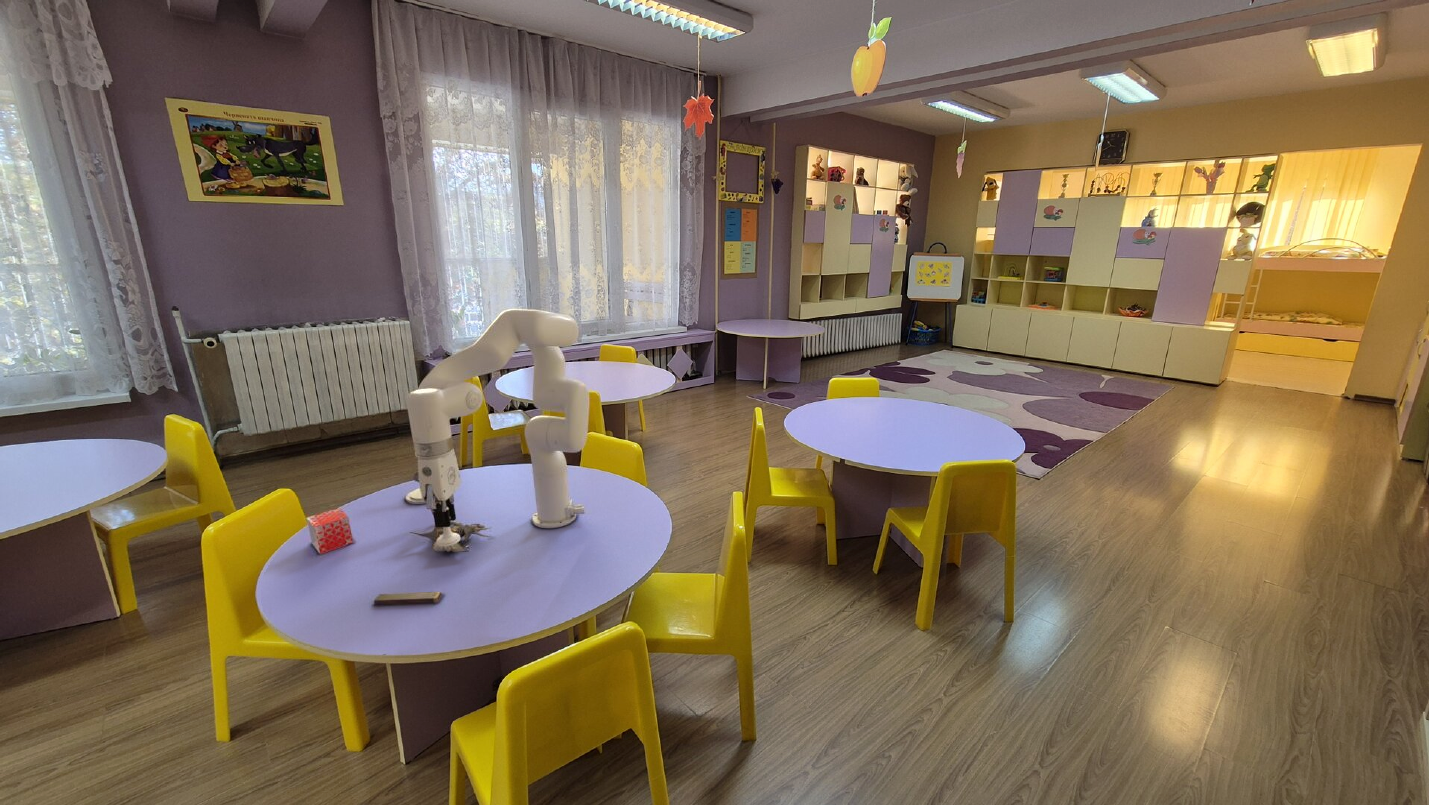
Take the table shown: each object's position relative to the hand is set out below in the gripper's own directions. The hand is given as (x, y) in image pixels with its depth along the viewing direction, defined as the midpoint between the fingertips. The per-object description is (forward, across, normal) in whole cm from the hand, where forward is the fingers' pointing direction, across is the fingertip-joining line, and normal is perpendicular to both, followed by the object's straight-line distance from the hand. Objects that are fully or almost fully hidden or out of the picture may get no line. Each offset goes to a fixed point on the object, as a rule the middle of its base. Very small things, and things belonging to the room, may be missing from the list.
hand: (445, 522), depth 127 cm
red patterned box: (+19, +26, +44) cm, 54 cm away
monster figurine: (+19, +56, +31) cm, 66 cm away
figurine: (+19, +23, +10) cm, 31 cm away
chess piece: (+5, 0, 0) cm, 5 cm away
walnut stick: (+19, -1, +10) cm, 21 cm away
